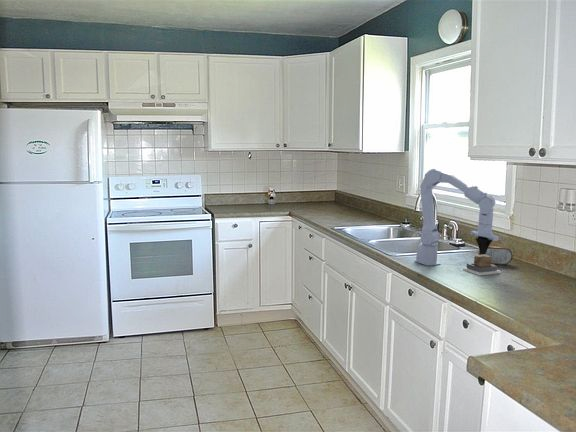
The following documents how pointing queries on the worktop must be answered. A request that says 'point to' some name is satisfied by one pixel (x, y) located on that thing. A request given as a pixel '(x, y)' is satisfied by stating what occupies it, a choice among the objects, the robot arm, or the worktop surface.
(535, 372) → the worktop surface
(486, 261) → the plug block
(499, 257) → the tin
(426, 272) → the worktop surface
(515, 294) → the worktop surface
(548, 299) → the worktop surface
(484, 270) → the grey tray
